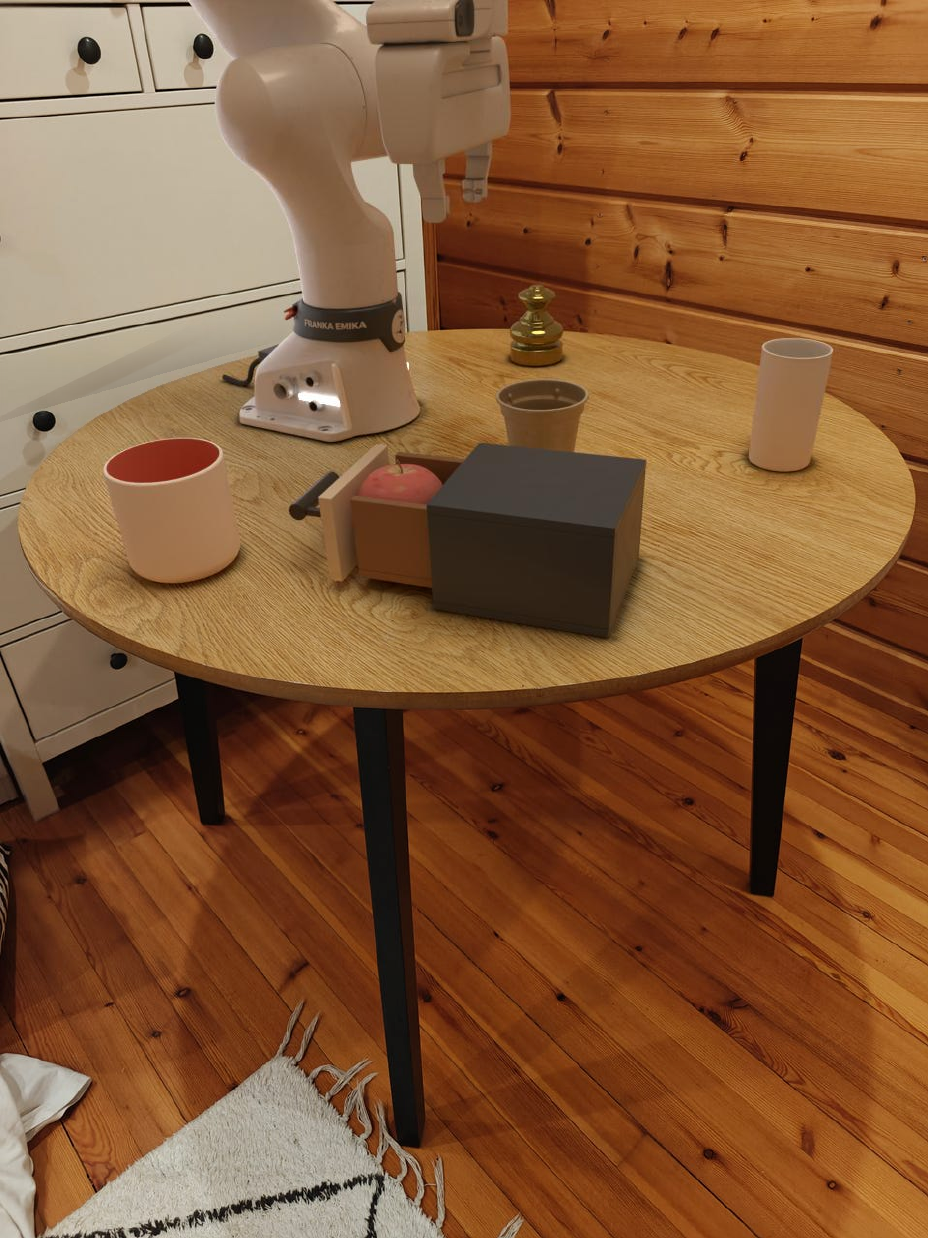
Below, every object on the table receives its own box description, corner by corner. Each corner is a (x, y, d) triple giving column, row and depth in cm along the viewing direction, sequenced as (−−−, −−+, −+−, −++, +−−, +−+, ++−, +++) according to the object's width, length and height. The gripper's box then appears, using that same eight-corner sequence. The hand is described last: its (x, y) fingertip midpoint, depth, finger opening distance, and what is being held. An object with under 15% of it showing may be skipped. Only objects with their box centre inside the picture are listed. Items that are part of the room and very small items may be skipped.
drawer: (284, 572, 78) (270, 491, 74) (341, 514, 87) (332, 439, 83) (478, 603, 73) (475, 517, 69) (519, 538, 82) (518, 458, 78)
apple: (395, 573, 74) (393, 480, 70) (343, 545, 79) (339, 457, 75) (463, 549, 78) (464, 460, 75) (409, 524, 83) (408, 439, 79)
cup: (144, 539, 87) (118, 441, 81) (248, 531, 87) (230, 433, 82) (119, 593, 78) (89, 488, 73) (235, 585, 79) (214, 479, 73)
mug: (821, 471, 93) (844, 356, 87) (757, 475, 93) (775, 360, 87) (788, 434, 102) (806, 327, 95) (729, 437, 102) (743, 330, 95)
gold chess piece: (511, 351, 131) (511, 279, 126) (562, 350, 131) (564, 278, 125) (508, 367, 125) (507, 293, 120) (562, 367, 124) (564, 292, 119)
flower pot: (484, 485, 94) (482, 405, 89) (512, 450, 101) (511, 375, 96) (573, 496, 91) (575, 414, 86) (594, 459, 98) (598, 382, 93)
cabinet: (433, 609, 74) (426, 504, 69) (482, 539, 84) (479, 442, 79) (608, 638, 70) (615, 528, 65) (638, 560, 80) (646, 459, 74)
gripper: (457, 12, 77) (463, 190, 84) (354, 14, 61) (373, 233, 68) (528, 9, 75) (528, 191, 83) (441, 9, 59) (450, 235, 67)
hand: (457, 210), depth 75 cm, fingers open, 8 cm apart
